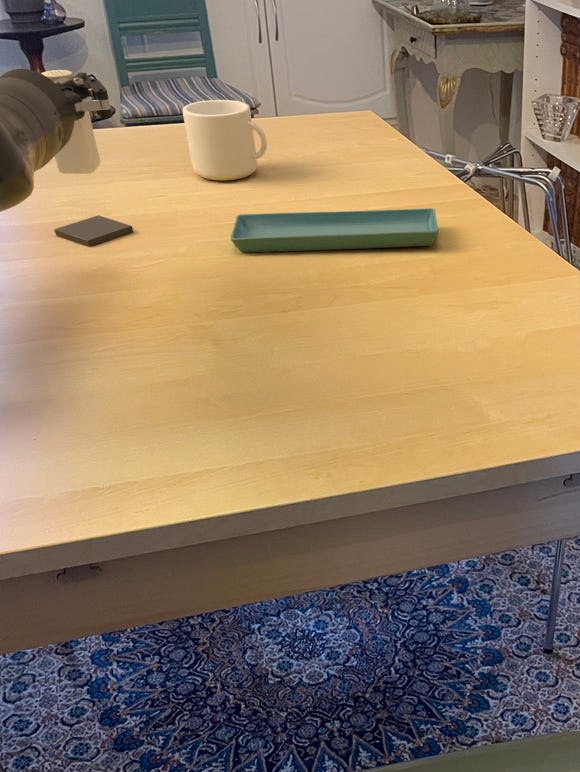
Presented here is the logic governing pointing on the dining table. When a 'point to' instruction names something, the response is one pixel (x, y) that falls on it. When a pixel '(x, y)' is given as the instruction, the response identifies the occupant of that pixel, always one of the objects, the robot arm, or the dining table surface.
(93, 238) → the coaster
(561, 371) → the dining table surface
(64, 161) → the salt shaker
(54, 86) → the robot arm
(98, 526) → the dining table surface
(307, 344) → the dining table surface
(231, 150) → the mug
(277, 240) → the rectangular tray
